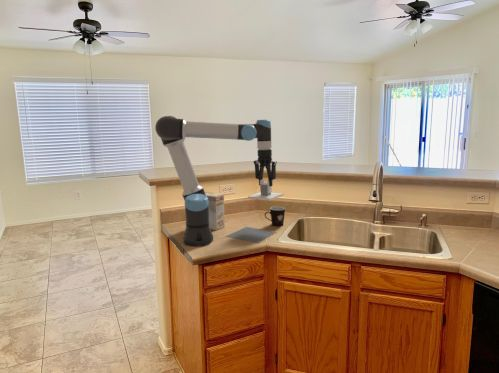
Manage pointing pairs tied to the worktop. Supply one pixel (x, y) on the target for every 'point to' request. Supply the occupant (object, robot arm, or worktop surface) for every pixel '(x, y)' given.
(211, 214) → the coffeecake box
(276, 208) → the coffee mug
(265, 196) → the lid
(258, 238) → the mat
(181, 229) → the worktop surface
